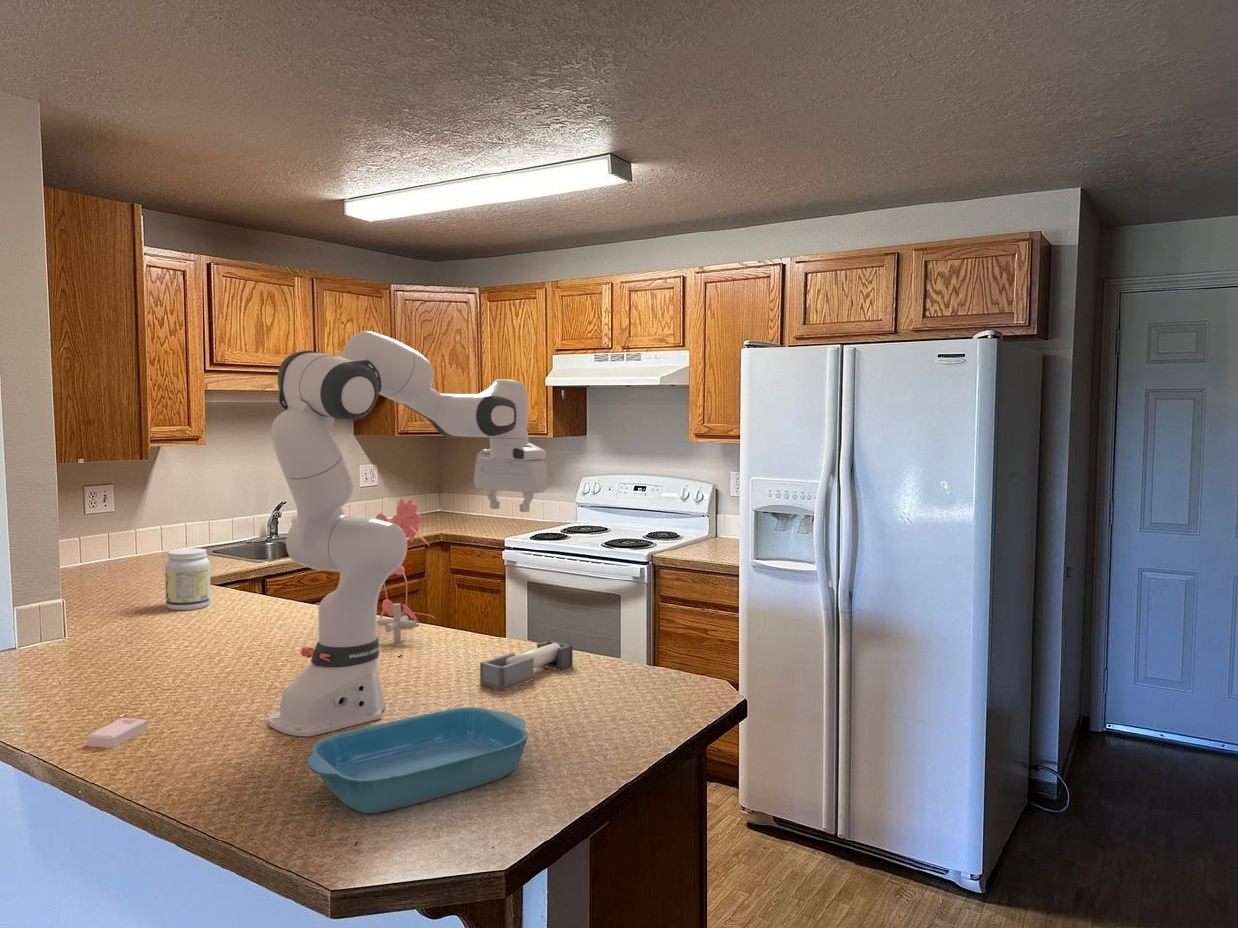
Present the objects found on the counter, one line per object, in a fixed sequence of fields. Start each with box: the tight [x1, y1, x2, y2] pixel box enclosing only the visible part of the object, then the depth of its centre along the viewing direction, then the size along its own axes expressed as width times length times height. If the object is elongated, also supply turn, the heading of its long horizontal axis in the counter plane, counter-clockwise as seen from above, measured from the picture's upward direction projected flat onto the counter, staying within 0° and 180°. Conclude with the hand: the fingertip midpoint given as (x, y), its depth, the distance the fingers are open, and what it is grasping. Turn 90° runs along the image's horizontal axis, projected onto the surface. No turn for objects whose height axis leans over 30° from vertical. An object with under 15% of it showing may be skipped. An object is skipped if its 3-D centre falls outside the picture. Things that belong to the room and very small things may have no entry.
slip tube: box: [505, 643, 560, 669], centre depth 200 cm, size 15×4×4 cm, turn 143°
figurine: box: [375, 497, 437, 631], centre depth 247 cm, size 15×26×35 cm, turn 47°
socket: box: [536, 639, 574, 671], centre depth 206 cm, size 4×8×5 cm, turn 53°
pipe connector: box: [377, 602, 418, 644], centre depth 225 cm, size 10×10×10 cm
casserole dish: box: [306, 706, 529, 814], centre depth 144 cm, size 37×22×7 cm, turn 129°
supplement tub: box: [164, 547, 212, 611], centre depth 262 cm, size 12×12×17 cm
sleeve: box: [479, 652, 535, 692], centre depth 193 cm, size 10×7×5 cm, turn 143°
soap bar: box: [86, 717, 147, 749], centre depth 160 cm, size 5×9×2 cm, turn 171°
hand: (509, 510), depth 201 cm, fingers open, 8 cm apart
